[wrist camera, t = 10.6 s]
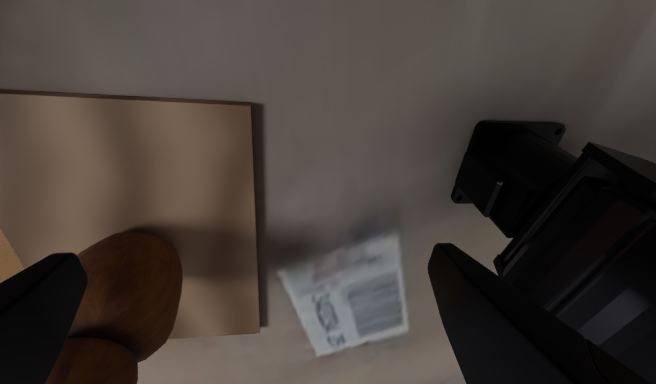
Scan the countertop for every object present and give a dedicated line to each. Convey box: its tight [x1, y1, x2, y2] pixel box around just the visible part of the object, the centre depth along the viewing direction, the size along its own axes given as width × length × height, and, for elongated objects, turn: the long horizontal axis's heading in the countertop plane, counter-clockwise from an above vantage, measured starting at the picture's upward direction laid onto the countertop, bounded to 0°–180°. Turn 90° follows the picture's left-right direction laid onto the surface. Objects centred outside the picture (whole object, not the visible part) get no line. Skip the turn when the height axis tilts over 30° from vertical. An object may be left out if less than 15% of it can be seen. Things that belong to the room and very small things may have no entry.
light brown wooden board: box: [0, 89, 260, 339], centre depth 23 cm, size 16×22×2 cm
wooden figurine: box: [45, 232, 183, 384], centre depth 17 cm, size 7×6×15 cm
